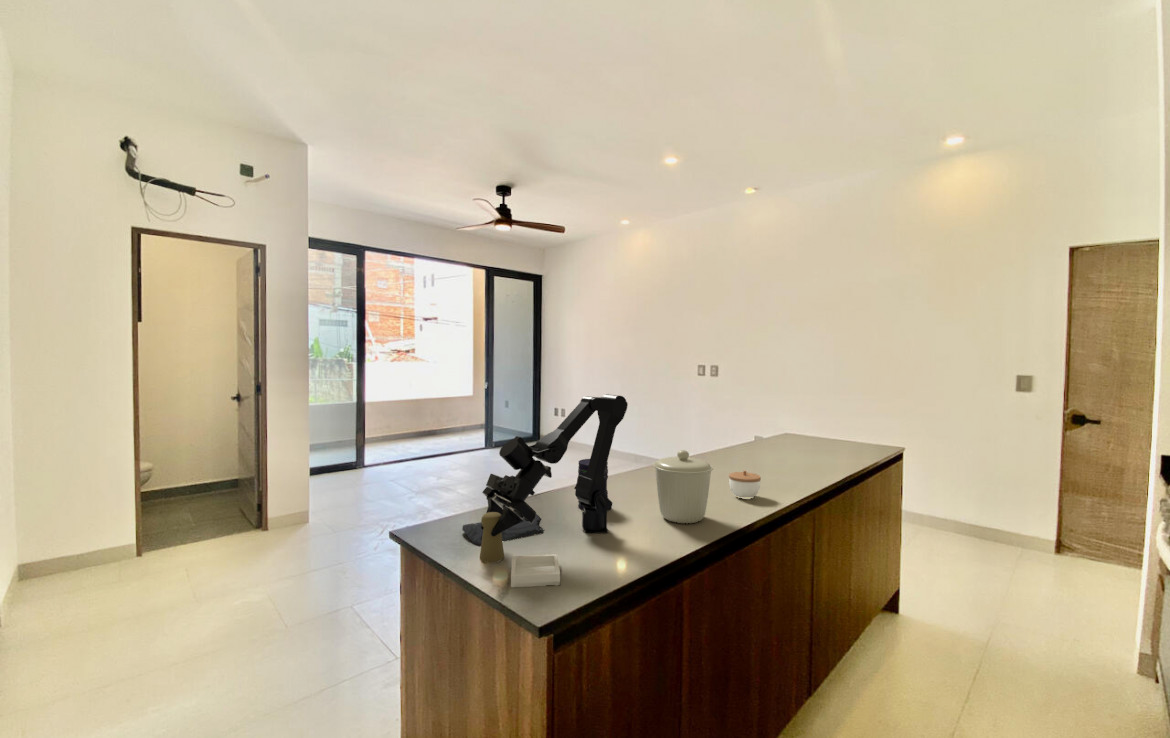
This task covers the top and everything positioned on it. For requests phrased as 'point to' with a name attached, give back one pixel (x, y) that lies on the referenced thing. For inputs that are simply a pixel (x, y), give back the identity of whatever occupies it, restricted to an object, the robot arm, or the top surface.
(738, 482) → the lidded jar
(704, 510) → the canister
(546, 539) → the top surface
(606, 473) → the storage jar
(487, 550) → the olive brown pawn
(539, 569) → the tray
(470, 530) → the dark slate chunk
